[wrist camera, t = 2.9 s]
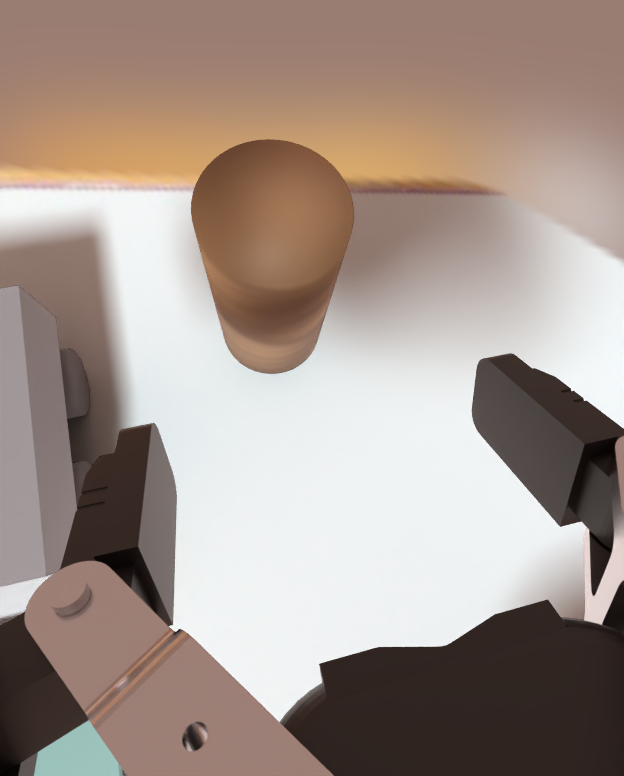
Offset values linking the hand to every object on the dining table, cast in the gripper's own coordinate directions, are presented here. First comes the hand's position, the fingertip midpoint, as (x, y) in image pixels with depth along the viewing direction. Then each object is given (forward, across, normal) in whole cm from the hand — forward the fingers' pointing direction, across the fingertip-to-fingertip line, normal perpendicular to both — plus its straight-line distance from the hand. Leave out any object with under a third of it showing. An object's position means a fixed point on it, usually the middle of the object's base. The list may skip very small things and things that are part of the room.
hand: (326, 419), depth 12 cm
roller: (+12, 0, +3) cm, 13 cm away
